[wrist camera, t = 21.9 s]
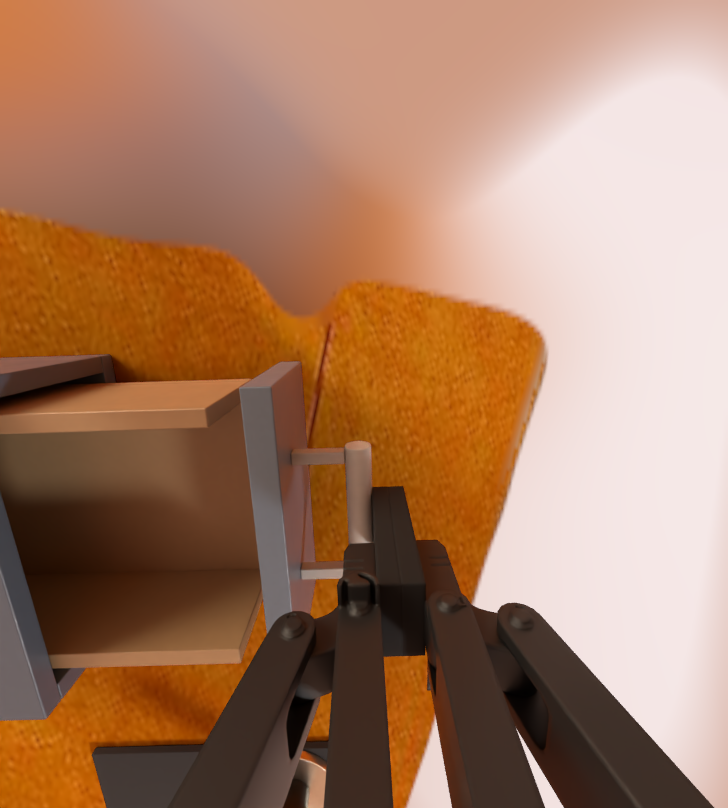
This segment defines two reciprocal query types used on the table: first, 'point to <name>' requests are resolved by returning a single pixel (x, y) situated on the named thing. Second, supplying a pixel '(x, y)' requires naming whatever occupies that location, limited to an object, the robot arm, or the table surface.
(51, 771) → the table surface
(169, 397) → the drawer
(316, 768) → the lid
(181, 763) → the mat
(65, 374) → the cabinet
